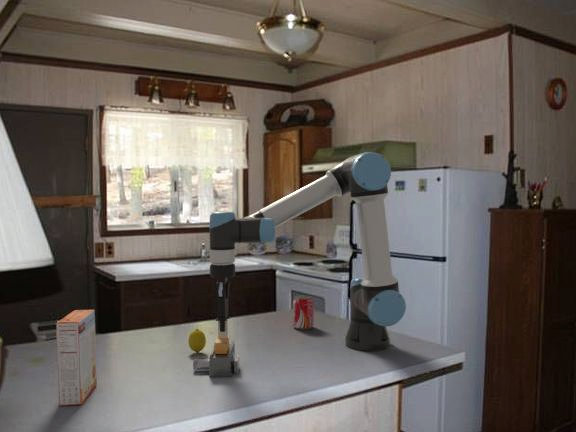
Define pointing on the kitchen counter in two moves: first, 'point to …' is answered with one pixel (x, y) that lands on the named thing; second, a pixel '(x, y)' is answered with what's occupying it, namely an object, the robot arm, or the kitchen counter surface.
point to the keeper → (221, 346)
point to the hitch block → (221, 362)
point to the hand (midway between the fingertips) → (223, 341)
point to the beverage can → (303, 312)
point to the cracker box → (76, 357)
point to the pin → (204, 364)
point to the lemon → (197, 340)
